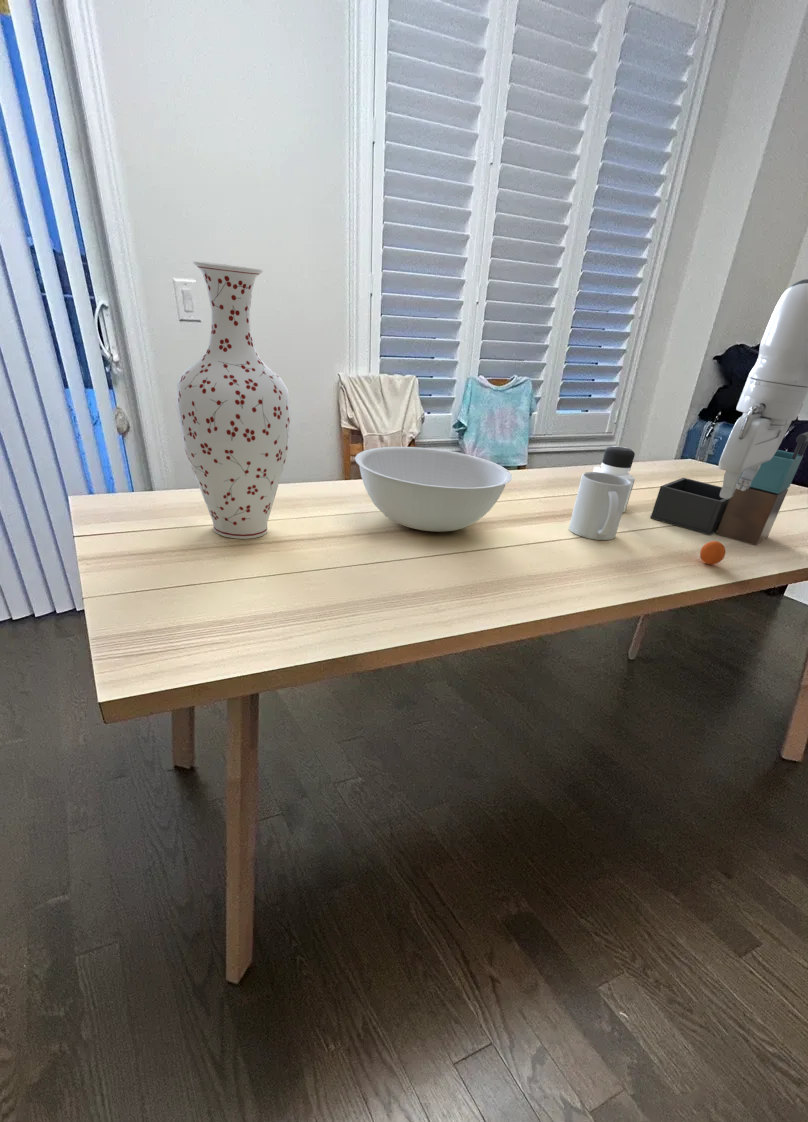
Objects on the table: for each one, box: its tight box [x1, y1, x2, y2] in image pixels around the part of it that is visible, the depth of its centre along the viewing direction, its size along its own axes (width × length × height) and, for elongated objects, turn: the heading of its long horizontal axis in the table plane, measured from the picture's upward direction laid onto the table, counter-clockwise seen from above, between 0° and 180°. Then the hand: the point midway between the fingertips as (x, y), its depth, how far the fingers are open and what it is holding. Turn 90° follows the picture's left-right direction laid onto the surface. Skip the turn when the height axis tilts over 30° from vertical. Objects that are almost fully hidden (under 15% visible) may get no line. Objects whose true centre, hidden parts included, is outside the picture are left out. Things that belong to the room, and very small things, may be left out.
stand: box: [715, 485, 789, 546], centre depth 127 cm, size 8×9×10 cm
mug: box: [568, 471, 631, 541], centre depth 117 cm, size 11×10×10 cm
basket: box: [650, 477, 729, 536], centre depth 133 cm, size 13×14×7 cm
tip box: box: [737, 431, 808, 494], centre depth 121 cm, size 8×9×10 cm
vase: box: [176, 260, 292, 540], centre depth 92 cm, size 16×16×35 cm
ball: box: [699, 540, 726, 566], centre depth 111 cm, size 4×4×4 cm
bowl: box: [354, 446, 513, 533], centre depth 112 cm, size 27×27×10 cm
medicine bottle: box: [592, 445, 636, 514], centre depth 134 cm, size 7×7×12 cm
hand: (733, 493), depth 106 cm, fingers open, 8 cm apart
